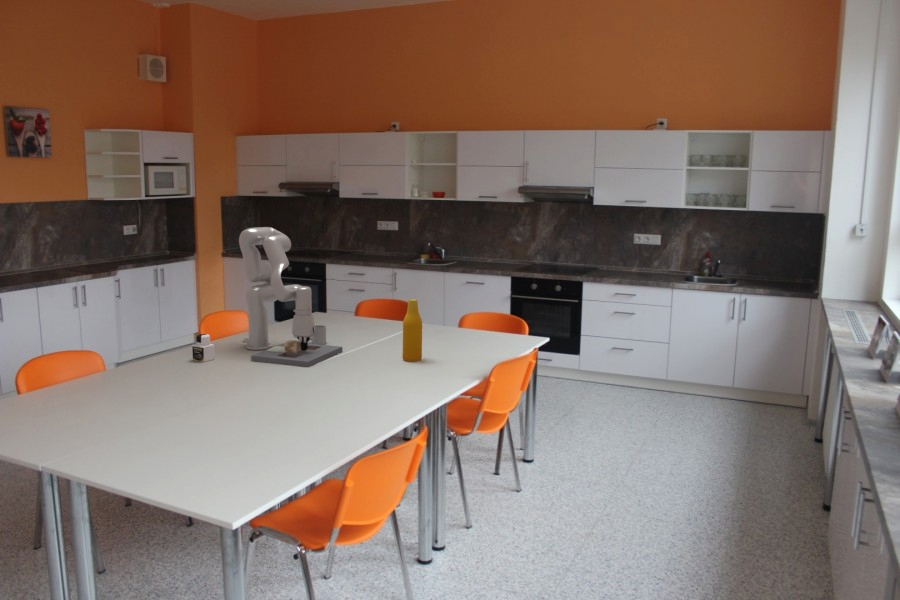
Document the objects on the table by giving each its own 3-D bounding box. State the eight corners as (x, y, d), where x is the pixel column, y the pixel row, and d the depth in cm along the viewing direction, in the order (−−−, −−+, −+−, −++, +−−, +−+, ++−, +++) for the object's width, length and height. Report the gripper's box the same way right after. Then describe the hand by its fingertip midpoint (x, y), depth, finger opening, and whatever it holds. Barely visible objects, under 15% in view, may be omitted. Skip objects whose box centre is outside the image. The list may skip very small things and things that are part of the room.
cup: (323, 345, 394) (322, 328, 393) (304, 344, 396) (304, 327, 395) (328, 342, 401) (328, 325, 400) (310, 341, 403) (310, 324, 402)
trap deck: (251, 360, 359) (251, 355, 358) (289, 346, 390) (289, 341, 390) (308, 367, 349) (308, 361, 349) (342, 351, 381) (342, 346, 380)
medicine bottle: (192, 360, 357) (191, 335, 355) (203, 357, 364) (203, 332, 362) (203, 362, 354) (203, 336, 352) (215, 359, 360) (214, 334, 358)
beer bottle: (417, 362, 361) (418, 302, 356) (399, 361, 364) (400, 300, 359) (424, 358, 370) (425, 299, 365) (406, 356, 373) (407, 297, 368)
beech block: (284, 351, 367) (284, 342, 367) (290, 349, 373) (290, 340, 372) (296, 352, 366) (295, 343, 365) (301, 350, 371) (301, 341, 371)
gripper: (285, 312, 364) (286, 350, 367) (313, 314, 359) (314, 353, 362) (293, 310, 371) (294, 347, 374) (321, 312, 366) (321, 350, 369)
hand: (304, 350), depth 368 cm, fingers closed
